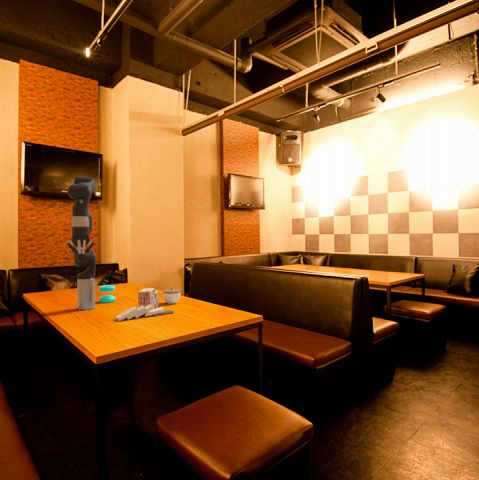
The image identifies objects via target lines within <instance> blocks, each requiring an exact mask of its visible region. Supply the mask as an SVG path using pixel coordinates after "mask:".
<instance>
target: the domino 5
mask: <svg viewBox="0 0 479 480" xmlns="http://www.w3.org/2000/svg"><path fill="white" fill-rule="evenodd" d="M165 315H166V316H167V315H174V311H172V310H171V309H169V310H165V312H162V313H158V314H154V315H153V316H155V317H157V316H158V317H159V316H165Z"/></svg>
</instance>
